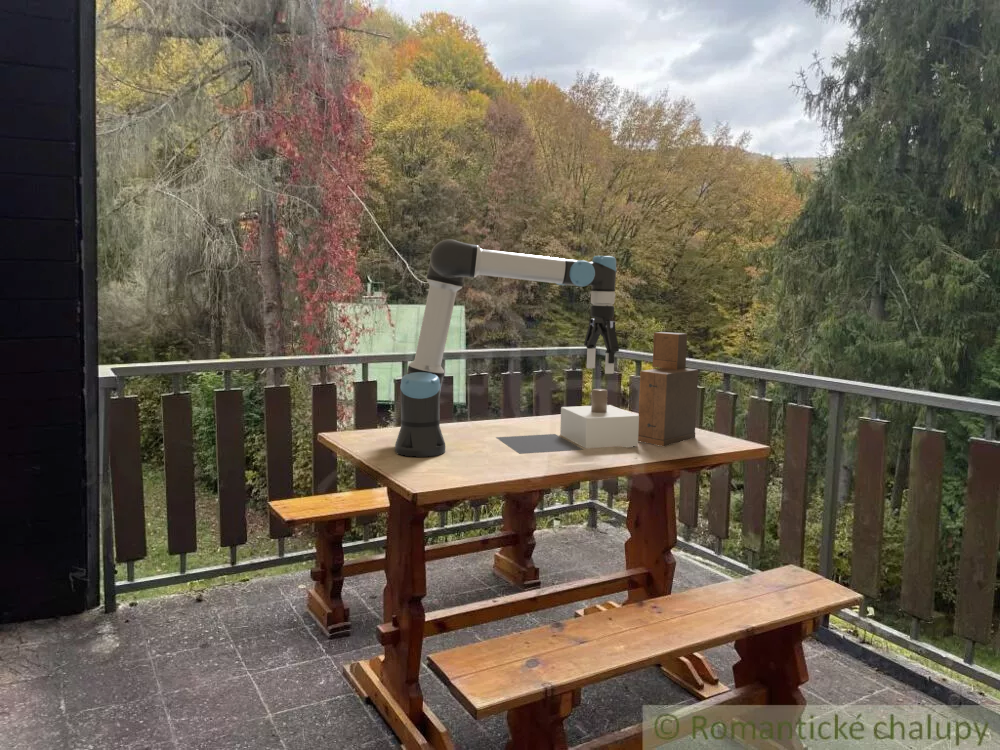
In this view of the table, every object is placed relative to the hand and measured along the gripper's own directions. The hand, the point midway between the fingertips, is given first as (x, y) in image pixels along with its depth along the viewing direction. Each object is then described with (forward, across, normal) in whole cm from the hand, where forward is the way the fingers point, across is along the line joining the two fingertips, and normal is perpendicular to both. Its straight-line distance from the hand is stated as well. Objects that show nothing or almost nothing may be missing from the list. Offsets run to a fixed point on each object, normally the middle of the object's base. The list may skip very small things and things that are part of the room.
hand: (599, 370), depth 237 cm
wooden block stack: (+23, -2, -24) cm, 34 cm away
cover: (+23, 0, 0) cm, 23 cm away
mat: (+24, 0, +20) cm, 31 cm away
